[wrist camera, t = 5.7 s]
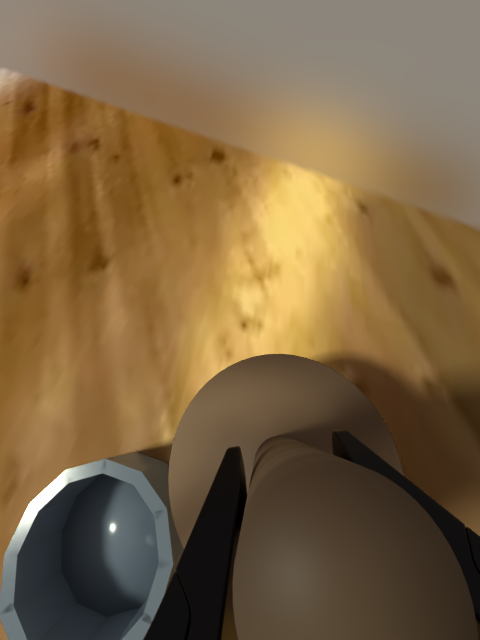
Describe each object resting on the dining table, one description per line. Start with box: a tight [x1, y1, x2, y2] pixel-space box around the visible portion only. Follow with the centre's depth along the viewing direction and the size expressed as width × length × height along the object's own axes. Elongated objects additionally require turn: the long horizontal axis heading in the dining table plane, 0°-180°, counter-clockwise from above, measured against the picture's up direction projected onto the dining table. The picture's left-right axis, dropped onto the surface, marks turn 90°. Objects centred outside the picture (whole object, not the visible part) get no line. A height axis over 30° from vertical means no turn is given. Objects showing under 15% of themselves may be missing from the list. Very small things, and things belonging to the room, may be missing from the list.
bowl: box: [0, 452, 184, 640], centre depth 17 cm, size 10×10×4 cm
